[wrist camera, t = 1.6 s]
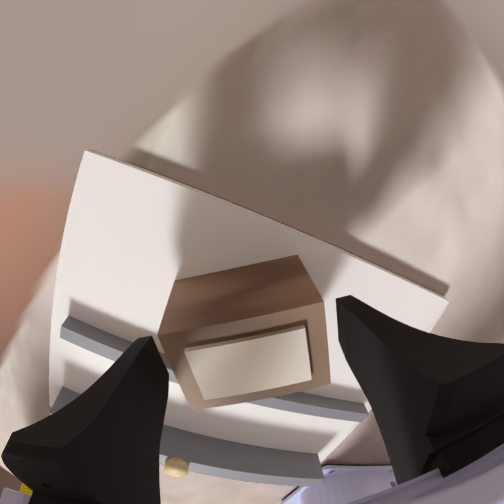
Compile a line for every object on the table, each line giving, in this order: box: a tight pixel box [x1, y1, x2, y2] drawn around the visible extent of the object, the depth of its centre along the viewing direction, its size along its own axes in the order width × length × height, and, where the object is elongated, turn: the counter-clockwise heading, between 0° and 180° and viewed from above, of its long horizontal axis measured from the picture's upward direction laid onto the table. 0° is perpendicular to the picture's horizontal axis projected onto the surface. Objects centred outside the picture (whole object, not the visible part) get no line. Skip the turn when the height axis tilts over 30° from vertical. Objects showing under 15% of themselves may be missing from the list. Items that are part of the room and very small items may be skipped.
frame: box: [157, 254, 331, 410], centre depth 13 cm, size 6×4×4 cm
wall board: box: [49, 150, 450, 487], centre depth 15 cm, size 20×17×4 cm
